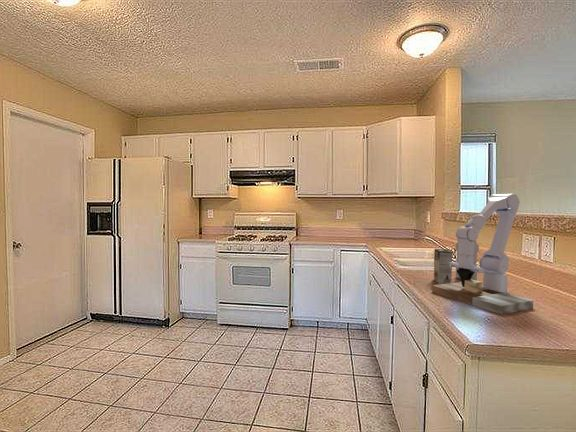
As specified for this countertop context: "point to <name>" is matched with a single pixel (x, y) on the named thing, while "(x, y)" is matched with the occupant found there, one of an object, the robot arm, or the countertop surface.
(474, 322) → the countertop surface
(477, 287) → the block
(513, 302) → the trap board
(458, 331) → the countertop surface
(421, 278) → the countertop surface
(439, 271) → the coffee box
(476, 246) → the grey upright slab
